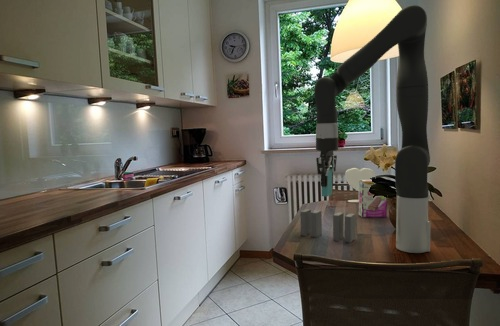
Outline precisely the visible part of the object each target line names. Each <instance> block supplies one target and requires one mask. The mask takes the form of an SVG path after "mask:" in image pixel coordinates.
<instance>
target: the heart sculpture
mask: <svg viewBox="0 0 500 326" xmlns="http://www.w3.org/2000/svg"><path fill="white" fill-rule="evenodd" d="M344 177H345V181H346V182H347V183H348V185H349V186H350V187H351V188H353V189H354V190H356V191H358V195H357V197H358V199H349V200H347V202H349V203H359V180H371V179H370V178H372V177H375V178H376V172H375V170H373V169H372V168H367V167H363V168H360V169H359V168H357V167H352V168H348V169H347V170H346V171H345V174H344Z"/></svg>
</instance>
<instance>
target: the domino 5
mask: <svg viewBox="0 0 500 326" xmlns="http://www.w3.org/2000/svg"><path fill="white" fill-rule="evenodd" d="M355 240H356V214H355V213H347V214H346V215H344V242H345V243H352V242H354V241H355Z"/></svg>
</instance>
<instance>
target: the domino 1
mask: <svg viewBox="0 0 500 326" xmlns="http://www.w3.org/2000/svg"><path fill="white" fill-rule="evenodd" d="M311 212H312V208H311V209H310V208H305V209H303V210H301V211H300V212H299V213H300V236H305V237H307V236H308V235H310V234H311Z"/></svg>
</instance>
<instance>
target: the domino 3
mask: <svg viewBox="0 0 500 326" xmlns="http://www.w3.org/2000/svg"><path fill="white" fill-rule="evenodd" d="M325 170H326V169H325ZM322 171H323V170H322ZM327 176H328V186H327V187H321V197H329V196H331V195H333V184H332V169H329V170H328V175H327Z"/></svg>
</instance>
